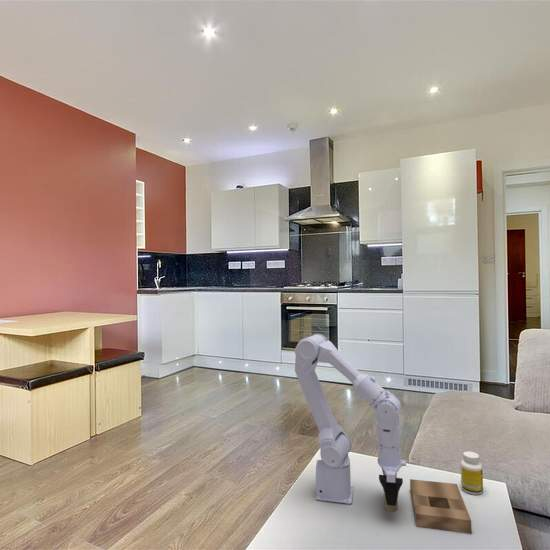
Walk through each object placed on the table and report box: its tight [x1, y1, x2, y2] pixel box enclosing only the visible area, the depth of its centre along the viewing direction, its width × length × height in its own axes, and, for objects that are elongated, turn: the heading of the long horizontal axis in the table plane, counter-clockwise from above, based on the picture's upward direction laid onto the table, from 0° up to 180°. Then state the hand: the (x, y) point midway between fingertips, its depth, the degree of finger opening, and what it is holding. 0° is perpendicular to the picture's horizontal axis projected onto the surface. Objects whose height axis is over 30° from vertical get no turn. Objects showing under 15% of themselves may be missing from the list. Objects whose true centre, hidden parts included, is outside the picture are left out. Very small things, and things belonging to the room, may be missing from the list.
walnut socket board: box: [409, 478, 472, 534], centre depth 97 cm, size 12×16×3 cm
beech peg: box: [383, 472, 399, 512], centre depth 98 cm, size 3×3×9 cm
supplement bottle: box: [460, 451, 484, 496], centre depth 105 cm, size 5×5×10 cm
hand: (390, 496), depth 98 cm, fingers open, 7 cm apart
